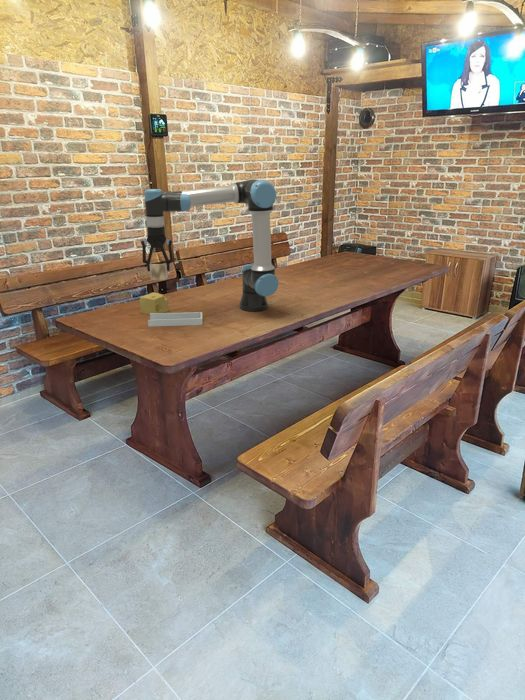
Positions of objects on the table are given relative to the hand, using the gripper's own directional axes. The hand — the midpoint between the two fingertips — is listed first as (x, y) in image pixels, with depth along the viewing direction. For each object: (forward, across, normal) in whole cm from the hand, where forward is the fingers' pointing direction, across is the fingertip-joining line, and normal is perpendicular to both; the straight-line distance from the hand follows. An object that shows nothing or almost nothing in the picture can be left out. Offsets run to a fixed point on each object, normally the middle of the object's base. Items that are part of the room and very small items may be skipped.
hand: (159, 277), depth 223 cm
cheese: (+23, +5, -18) cm, 30 cm away
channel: (+23, -6, 0) cm, 24 cm away
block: (-3, -3, 0) cm, 4 cm away
